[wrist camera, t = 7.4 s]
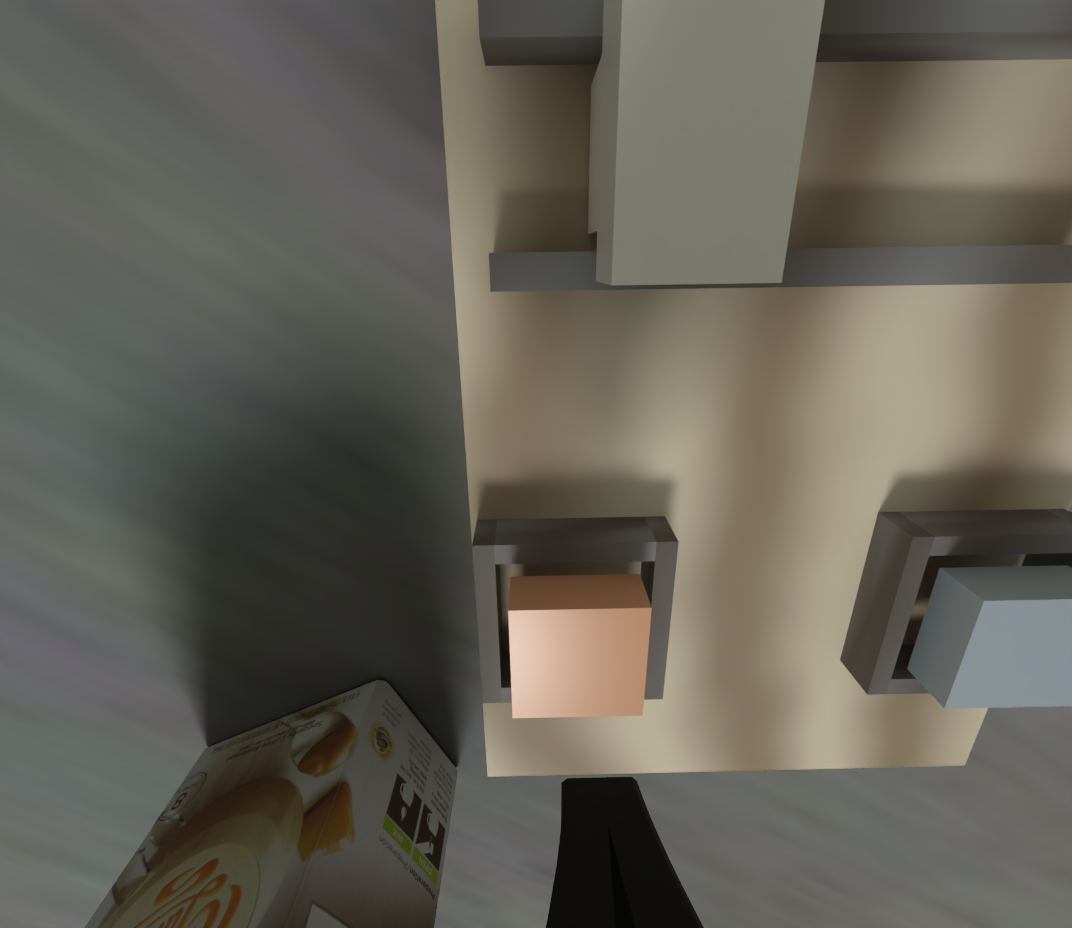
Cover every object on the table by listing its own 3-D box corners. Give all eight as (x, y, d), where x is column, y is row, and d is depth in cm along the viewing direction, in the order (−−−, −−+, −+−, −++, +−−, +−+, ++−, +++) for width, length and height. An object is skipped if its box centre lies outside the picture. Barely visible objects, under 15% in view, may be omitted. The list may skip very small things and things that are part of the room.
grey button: (1067, 565, 14) (1125, 598, 13) (1024, 666, 16) (1072, 705, 14) (939, 568, 14) (984, 600, 13) (906, 669, 16) (944, 708, 14)
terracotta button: (639, 574, 14) (652, 607, 13) (632, 674, 16) (642, 715, 14) (510, 576, 14) (508, 610, 13) (513, 677, 16) (512, 718, 14)
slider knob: (732, 27, 11) (839, -96, 7) (707, 277, 13) (781, 283, 9) (592, 28, 11) (626, -93, 7) (587, 278, 13) (611, 285, 9)
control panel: (1165, -8, 13) (1423, -118, 9) (917, 711, 22) (998, 804, 18) (448, -1, 13) (415, -109, 9) (491, 721, 21) (484, 816, 18)
